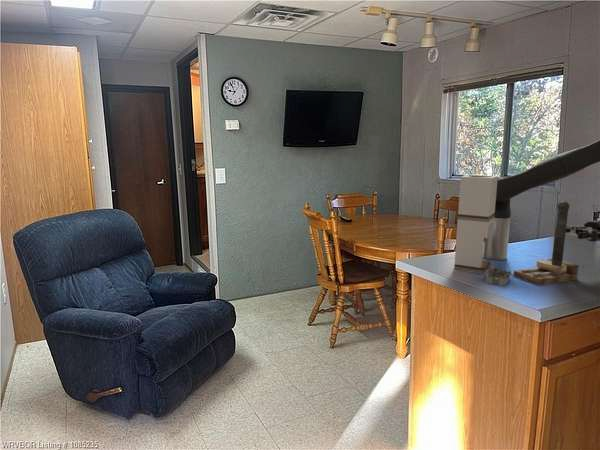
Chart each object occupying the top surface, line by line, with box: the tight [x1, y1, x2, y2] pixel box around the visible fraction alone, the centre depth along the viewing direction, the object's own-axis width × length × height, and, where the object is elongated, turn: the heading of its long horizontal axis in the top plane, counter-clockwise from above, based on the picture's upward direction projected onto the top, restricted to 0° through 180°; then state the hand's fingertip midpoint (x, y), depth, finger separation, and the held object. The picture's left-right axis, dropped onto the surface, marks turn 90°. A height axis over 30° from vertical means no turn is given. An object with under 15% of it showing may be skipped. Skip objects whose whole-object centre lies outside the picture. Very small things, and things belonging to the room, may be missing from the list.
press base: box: [513, 258, 579, 286], centre depth 160 cm, size 18×11×5 cm, turn 111°
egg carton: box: [484, 265, 512, 286], centre depth 157 cm, size 11×8×4 cm
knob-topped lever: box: [535, 200, 570, 272], centre depth 158 cm, size 5×8×24 cm, turn 21°
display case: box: [453, 174, 499, 275], centre depth 168 cm, size 11×11×35 cm
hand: (567, 233), depth 157 cm, fingers open, 8 cm apart
